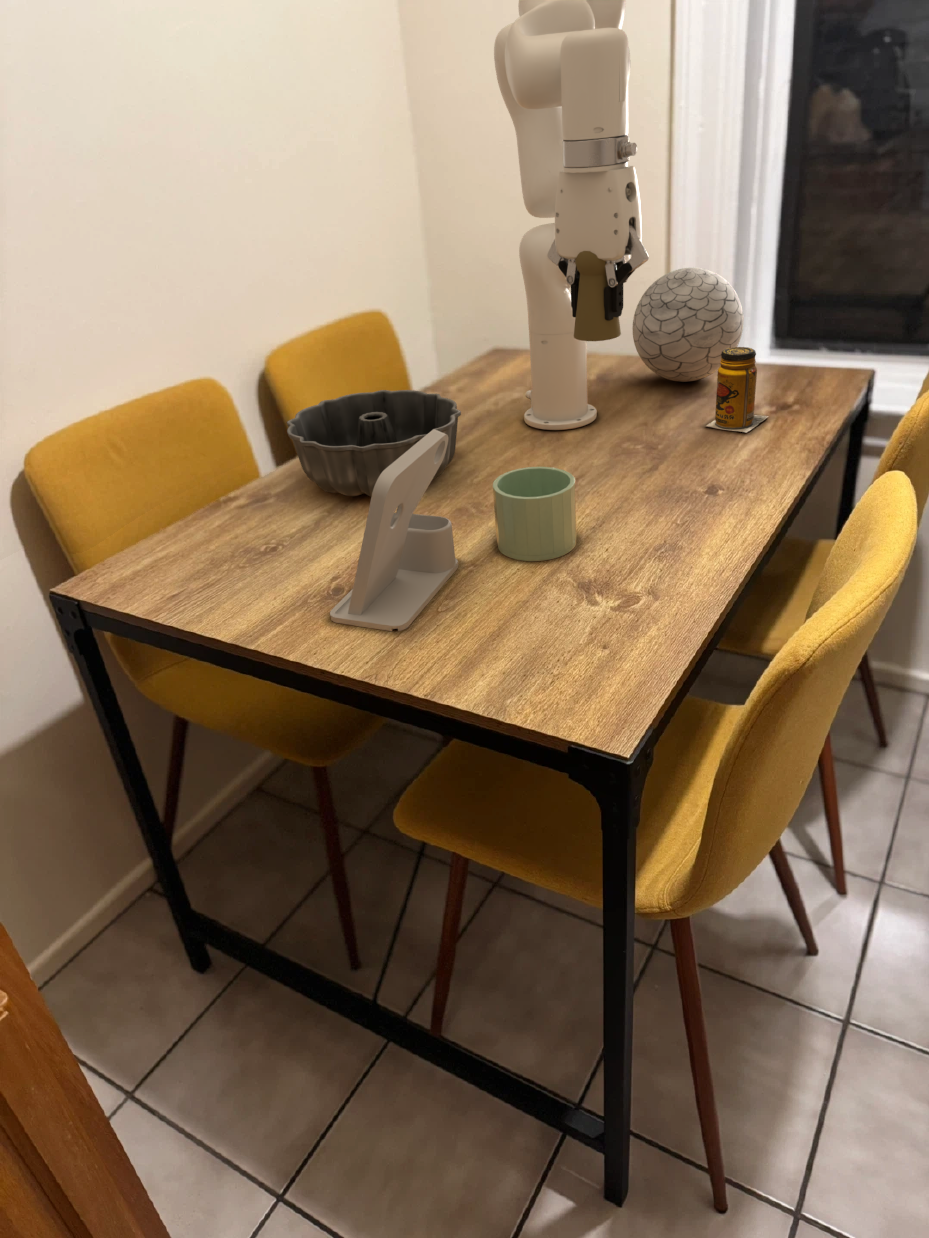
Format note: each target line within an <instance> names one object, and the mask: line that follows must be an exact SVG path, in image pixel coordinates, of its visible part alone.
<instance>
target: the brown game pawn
mask: <svg viewBox="0 0 929 1238" xmlns="http://www.w3.org/2000/svg"><path fill="white" fill-rule="evenodd" d="M605 262H606V261H604V260H602V259H599V258H598V257H597V255H596V254H594V253H592V252H591V251H582V252H580V253H579V254H578V255H577V257H576V258H575V264H576V267H577V270H578V271H579V273H580V279H579V289H578V300H577V310H576V318H575V328H574V338H575V339H577V340H581V341H586V342H603V341H610V340H614V339H617V338H618V337H620V336H621V335H622V331H621V322H620V316H619V317H614V318H613V319H612V320H610V321H609V320H605V310H604V288H605V287H607V286H608V281H607V275H606V269H605V265H606V264H605ZM615 264H616V263H615Z"/></svg>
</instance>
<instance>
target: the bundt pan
mask: <svg viewBox="0 0 929 1238" xmlns="http://www.w3.org/2000/svg"><path fill="white" fill-rule="evenodd" d="M457 407H458V404H457V402H456V401H455V400H453V399H452V398H451V399H450V398H447V397H443V396H441V394H440V393H427V392H424V391H422V390H415V389H400V390H399V389H398V390H388V389H379V390H376V391H373V392H356V393H355V392H354V393H350V394H345V395H342V396H339V397H337V398H334V399H333V398H332V399H324V400H321V401H320V402H319V403H318V404H314V405H311V406H308V407H305V408H303V409H301V410H299V411H298V412H296V413H295V416H294V418H291V419H289V420H287V421H286V424H287V429H286V432H287V436H288V437H289V438H290V439H291V440H292V443H293V446H294V449H295V452H296V454H297V458H298V460H299V463H300V465H301V468H302V470H303V473H304V474H305V475H306V477H307V478H308V479H309V480H310V481H312V482H313V483H314V484H316V485H317V486H318V487H319V488H320V489H321V490H323V491H324V492H326V493H330V494H340V495H343V496H346V497H359V496H361V495H363V494H365V495H367V496H369V498H371V497H372V492H373V489H374V486H375V484H376V482H377V480H378V478H379V476H380V474H381V473H382V472H383V471H384V470H385V469H386V468H387V467H388V466H390V465H391V464H392V463H393V462H394V461H396V460H397V459H398V458H399V457H400V456H402V455H403V454H404V453H405V452H406V451H408V450H409V449H410V448H411V447H412V446H414V445H415V444H416V443H417V442H419V441H420V440H421V439H422V438H423V437H425V436H426V435H427V434H428V433H429V432H431V431H432V430H434V429H435V430H437V431H440V432H442V433H444V434H447V435H448V445H447V449H446V453H445V456H444V459H443V461H442V463H441V465H440V467H439V468H438V470H437V472H436V474H435V476H434V477H433V479H432V480H435V479H436V478H438V477H439V476H440V475H442V473H443V472H444V471H445V469H446V468H447V467H448V465H449V464H450V463H451V462H452V460H453V458H454V456H455V453H456V448H457V447H456V446H457V445H456V444H457V435H458V424H459V423H458V422H459V417H461V416H462V410H460V409H458V408H457Z"/></svg>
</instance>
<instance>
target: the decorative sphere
mask: <svg viewBox="0 0 929 1238" xmlns="http://www.w3.org/2000/svg"><path fill="white" fill-rule="evenodd" d="M742 306H743V305H742V303H741V299H740V297H739V295H738V293H737V292H736V290H735V289H734V287H733V285H731V284H730V282H729V281H728V280H726V278H724V277H723V276H721V275H720V274H718V273H716V272H714V271H712V270H709V269H706V268H701V267H682V268H678V269H675V270H672V271H669V272H668V273H665V274H664V275H662V276H661V277H659V278H657V279H656V280H655V281H654V282H652V284H651V285H649V287H648V288H646V290H645V291H644V293H643V294H642V295H641V298H640V299H639V300H638V302H637V305H636V308H635V310H634V314H633V318H632V319H633V320H632V328H631V329H632V338H633V344H634V347H635V349H636V353H637V355H638V356H639V358H640V359H641V361H642V362H643V364H644V365H645V366H646V367H647V368H648V369H649V370H650V371H651V372H653V373H654V374H656V375H658V376H660V377H661V378H664V379H667V380H669V381H674V382H682V383H684V382H685V383H686V382H695V381H698V380H702V379H704V378H707V377H709V376H711V375H713V374H714V373H716V372H718V369H719V368H720V366H721V364H720V361H721V353H722V351H723V350H725V349H727V348H732V347H739V344H740V342H741V338H742V335H743V330H744V311H743V307H742Z"/></svg>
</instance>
